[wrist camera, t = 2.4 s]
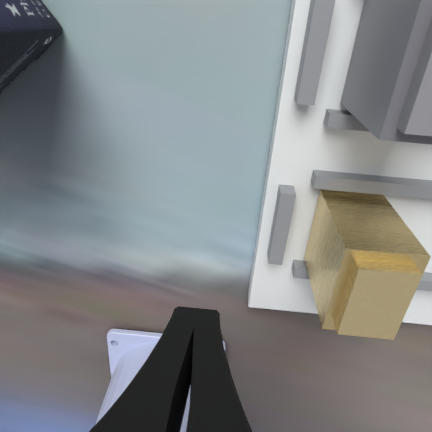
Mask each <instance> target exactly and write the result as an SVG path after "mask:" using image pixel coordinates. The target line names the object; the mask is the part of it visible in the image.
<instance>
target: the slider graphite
mask: <svg viewBox="0 0 432 432" xmlns="http://www.w3.org/2000/svg"><path fill="white" fill-rule="evenodd" d="M340 103H341V104H342V105H343V106H344V107H345V108H346V109H347V110H348V111H349V112H350V113H351V114H352V115H353V116H354V117H355V118H356V119H357V120H359V121H360V122H361V123H362V124H363V125H364V126H365V127H366V128H367V129H368V130H369V131H370V132H371V133H372V134H373V135H374V136H375V137H376V138H378V139H379V140H386V141H397V142H409V143H420V144H431V145H432V0H364V5H363V9H362V13H361V17H360V22H359V26H358V30H357V34H356V39H355V43H354V47H353V51H352V56H351V60H350V64H349V68H348V73H347V77H346V81H345V85H344V90H343V94H342V98H341V102H340Z"/></svg>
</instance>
